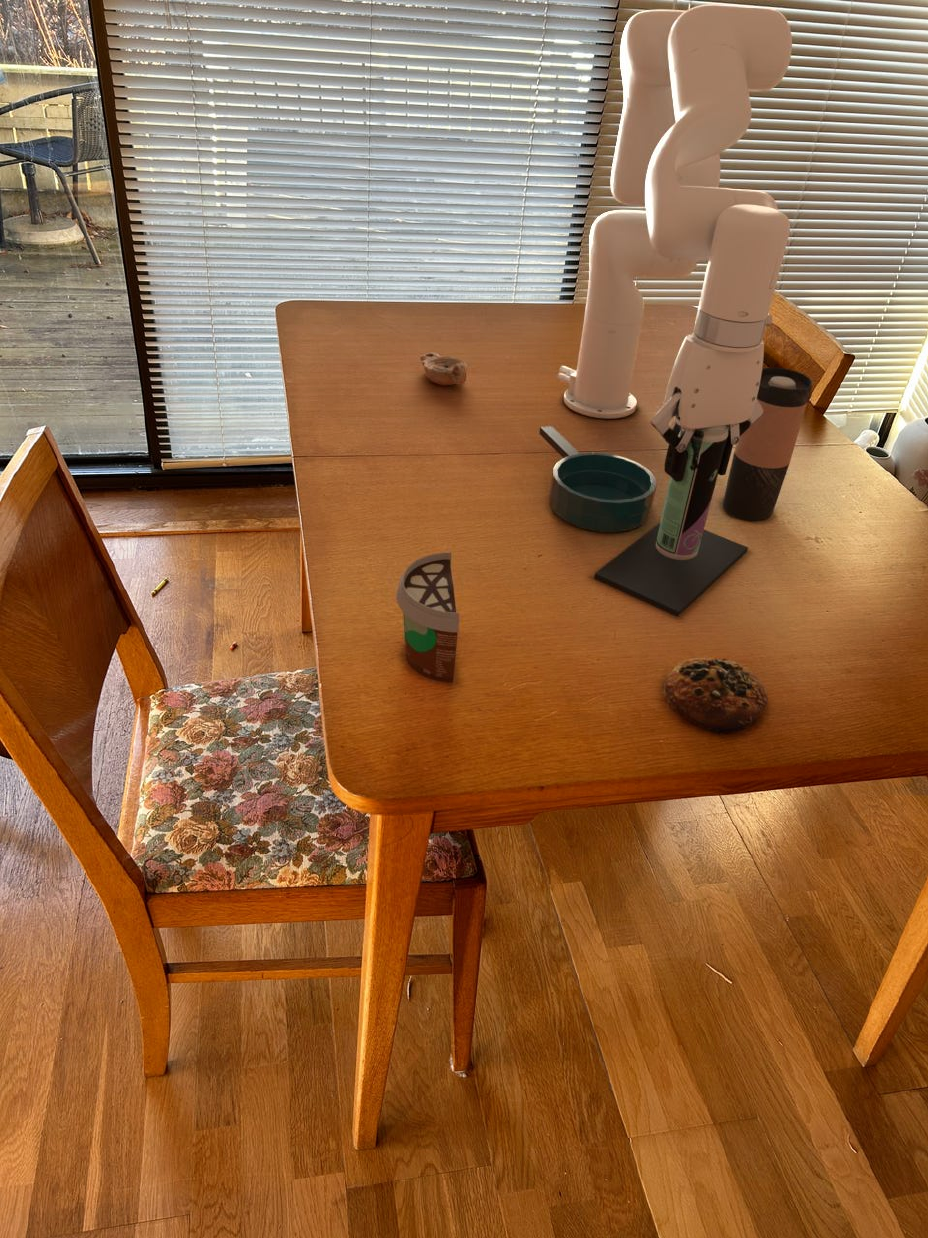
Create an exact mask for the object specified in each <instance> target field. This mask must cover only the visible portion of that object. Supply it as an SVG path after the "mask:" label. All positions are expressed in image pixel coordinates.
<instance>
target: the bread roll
mask: <svg viewBox="0 0 928 1238" xmlns="http://www.w3.org/2000/svg"><path fill="white" fill-rule="evenodd" d="M663 684H664V687H663V690H662V691H663V695H664V697H665V699H666V701H667V703H668V704H669V706H670V707H671V708H672V709H673V711H674V712H676V713H677V714H678V715H680V716H682V717H683V718H684V719H685V720H687V721H689V722H691V723H692V724H695V726H698V727H700V728H703V729H704V730H706V731H709V732H710V733H713V734H718V735H724V734H727V735H729V734H734V733H737V732H741V731H744V730H746V728H749V727H750V726H752V725H753V724H755V723H756V721H757V720H759V718H760V717H761V715H762V714H763V713H764V712H765V710H766V707H767V705H768V701H769V697H768V691H767V689H766V687H765V685H764V684H763V683H762V681H761V680H760V678H759V677H758V676H757V675H755V674H754V673H753V672H752V671H751V670H750V669H749V668H747V667H744V666H743V665H742V664H740V663H739V662H735V661H733V660H730V659H728V658H722V659H718V658H708V657H696V658H695V657H694V658H690V659H685V660H683V661H680V662H678V663H676V665H675V666H674V667H671V668H670V669H669V670H668V671H667V675H666V677H665V678H664V681H663Z"/></svg>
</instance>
